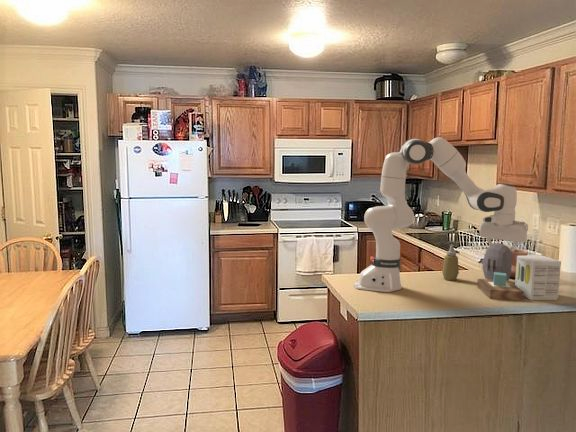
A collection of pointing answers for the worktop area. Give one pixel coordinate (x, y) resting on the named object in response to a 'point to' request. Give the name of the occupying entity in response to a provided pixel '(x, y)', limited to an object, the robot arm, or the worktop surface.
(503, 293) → the walnut plinth
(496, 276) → the teal cube
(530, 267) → the supplement box
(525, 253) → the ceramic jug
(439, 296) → the worktop surface
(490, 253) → the small grey backpack
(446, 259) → the squeeze bottle
